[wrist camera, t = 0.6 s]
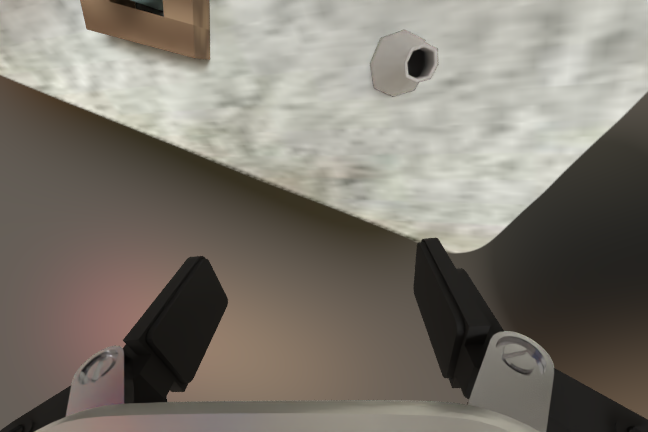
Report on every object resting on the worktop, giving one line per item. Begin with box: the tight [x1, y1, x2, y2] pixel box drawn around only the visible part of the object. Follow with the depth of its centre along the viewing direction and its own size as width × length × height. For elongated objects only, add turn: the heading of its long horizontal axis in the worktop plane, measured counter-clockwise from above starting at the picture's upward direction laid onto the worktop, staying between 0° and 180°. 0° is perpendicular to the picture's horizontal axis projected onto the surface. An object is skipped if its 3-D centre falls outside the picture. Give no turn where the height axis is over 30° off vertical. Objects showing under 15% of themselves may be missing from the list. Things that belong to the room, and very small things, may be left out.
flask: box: [370, 30, 438, 96], centre depth 27 cm, size 7×7×10 cm
